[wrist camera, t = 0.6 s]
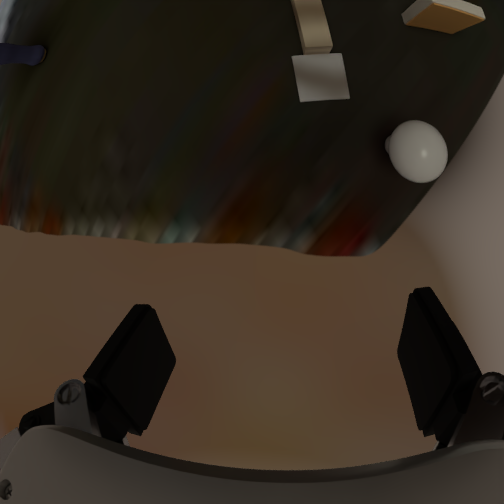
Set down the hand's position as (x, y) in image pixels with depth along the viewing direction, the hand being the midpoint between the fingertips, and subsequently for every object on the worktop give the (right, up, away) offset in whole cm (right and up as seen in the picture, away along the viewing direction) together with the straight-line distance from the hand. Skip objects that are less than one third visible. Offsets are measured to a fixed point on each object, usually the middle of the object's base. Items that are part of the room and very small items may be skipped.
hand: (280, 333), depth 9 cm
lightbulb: (+16, +16, +20) cm, 30 cm away
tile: (+22, +33, +11) cm, 41 cm away
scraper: (+6, +28, +16) cm, 33 cm away
